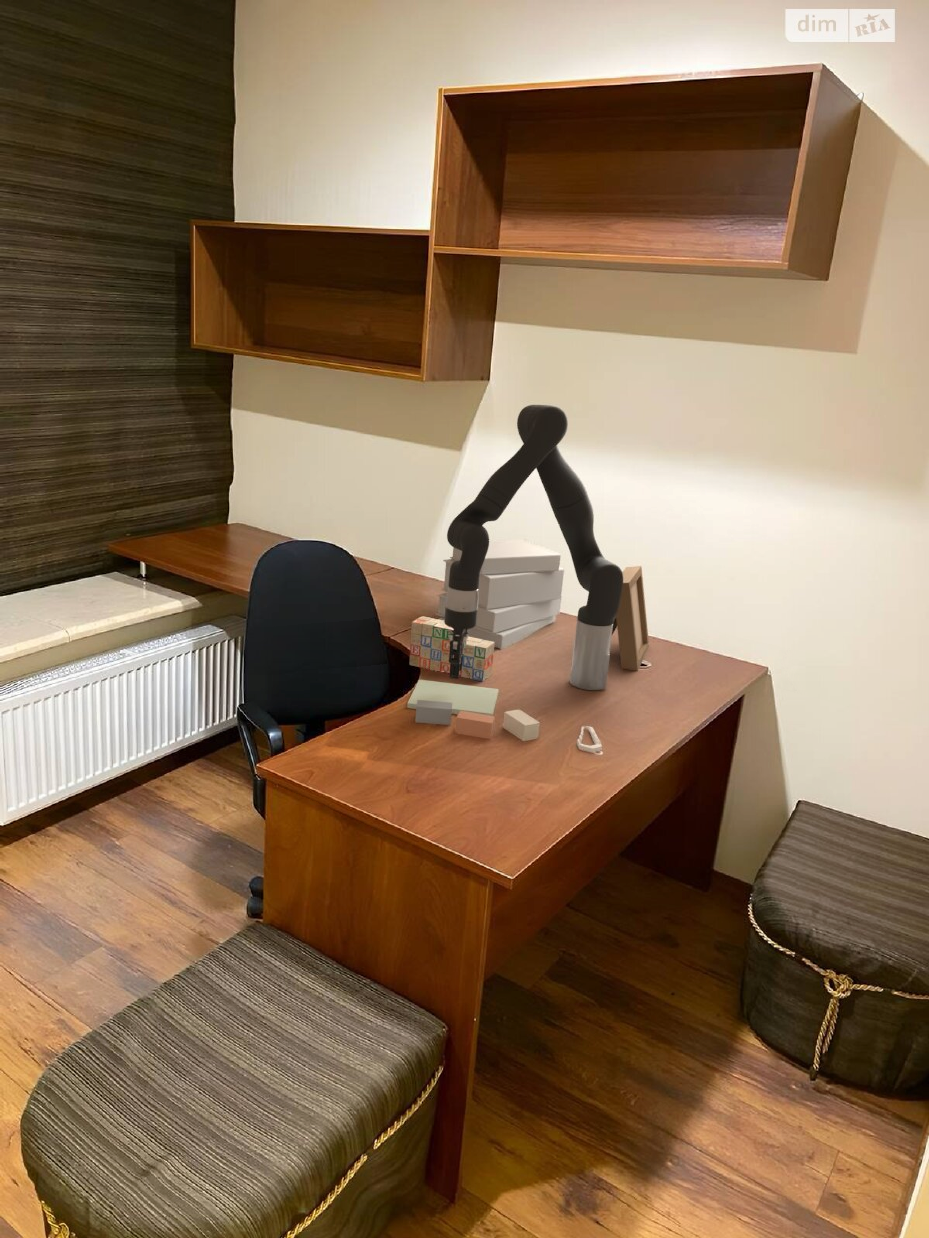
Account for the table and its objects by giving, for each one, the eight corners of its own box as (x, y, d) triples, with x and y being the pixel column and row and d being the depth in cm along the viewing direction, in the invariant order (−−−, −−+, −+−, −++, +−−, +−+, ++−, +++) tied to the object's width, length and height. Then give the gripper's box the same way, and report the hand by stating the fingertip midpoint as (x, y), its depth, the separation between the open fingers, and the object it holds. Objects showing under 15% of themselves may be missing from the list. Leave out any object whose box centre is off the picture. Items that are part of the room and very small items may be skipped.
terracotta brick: (493, 732, 209) (495, 716, 208) (490, 739, 205) (491, 723, 204) (459, 726, 210) (460, 710, 209) (455, 733, 207) (456, 717, 205)
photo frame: (648, 651, 273) (661, 569, 265) (637, 674, 253) (650, 586, 245) (599, 642, 277) (609, 561, 270) (583, 664, 257) (594, 577, 250)
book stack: (568, 630, 287) (578, 548, 280) (511, 657, 259) (520, 567, 251) (485, 608, 302) (492, 530, 294) (423, 632, 274) (429, 546, 266)
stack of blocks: (492, 675, 244) (496, 630, 240) (482, 682, 238) (487, 637, 234) (419, 658, 251) (422, 615, 248) (408, 665, 246) (411, 620, 242)
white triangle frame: (569, 731, 214) (570, 724, 213) (591, 732, 214) (592, 725, 214) (581, 756, 202) (582, 748, 201) (603, 757, 202) (604, 749, 202)
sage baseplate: (498, 693, 231) (498, 689, 231) (492, 718, 216) (492, 713, 216) (418, 683, 233) (419, 679, 233) (407, 707, 218) (407, 703, 217)
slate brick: (451, 718, 214) (452, 702, 213) (450, 725, 211) (451, 709, 209) (416, 715, 214) (417, 699, 213) (415, 722, 211) (416, 706, 209)
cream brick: (537, 739, 207) (539, 722, 206) (523, 742, 205) (525, 725, 204) (517, 725, 214) (519, 709, 213) (502, 728, 212) (504, 711, 211)
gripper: (474, 616, 210) (467, 686, 215) (481, 599, 224) (474, 666, 229) (441, 612, 211) (435, 682, 216) (450, 596, 225) (444, 662, 230)
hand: (455, 673), depth 222 cm, fingers open, 5 cm apart
